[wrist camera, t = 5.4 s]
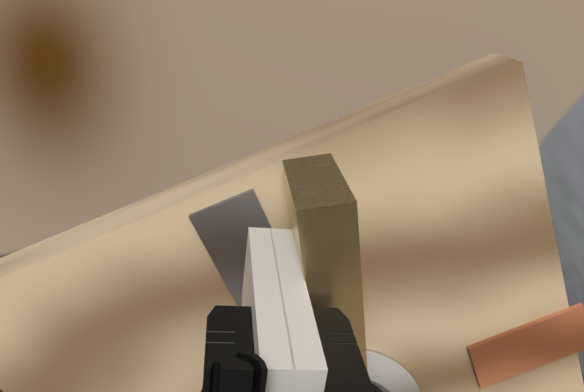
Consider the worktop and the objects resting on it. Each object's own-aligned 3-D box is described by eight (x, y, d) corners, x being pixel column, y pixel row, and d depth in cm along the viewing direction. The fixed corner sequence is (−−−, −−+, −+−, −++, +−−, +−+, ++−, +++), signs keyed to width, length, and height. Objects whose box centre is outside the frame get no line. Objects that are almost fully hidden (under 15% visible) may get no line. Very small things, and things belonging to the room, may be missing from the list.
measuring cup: (404, 466, 23) (439, 564, 19) (273, 489, 23) (282, 594, 19) (396, 143, 17) (445, 195, 13) (214, 169, 16) (209, 230, 13)
